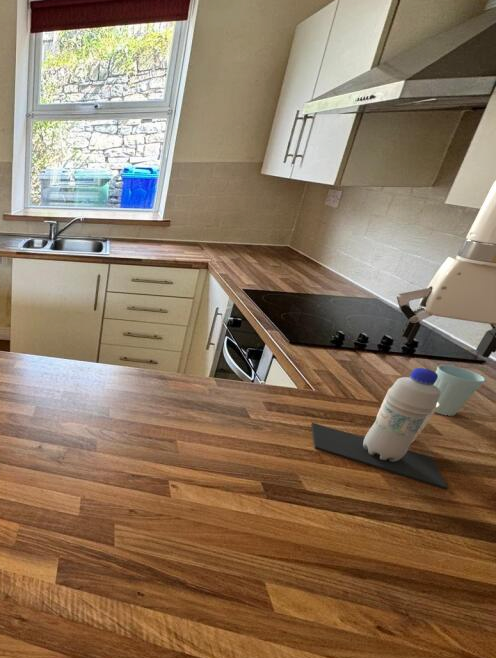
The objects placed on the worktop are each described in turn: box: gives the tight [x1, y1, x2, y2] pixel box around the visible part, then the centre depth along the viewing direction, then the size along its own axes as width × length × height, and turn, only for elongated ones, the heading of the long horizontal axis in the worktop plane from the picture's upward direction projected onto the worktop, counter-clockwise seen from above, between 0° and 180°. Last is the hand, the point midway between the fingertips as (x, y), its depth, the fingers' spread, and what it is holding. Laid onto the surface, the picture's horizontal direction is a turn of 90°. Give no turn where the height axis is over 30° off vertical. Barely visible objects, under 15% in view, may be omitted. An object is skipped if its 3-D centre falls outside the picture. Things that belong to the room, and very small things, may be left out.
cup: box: [434, 364, 486, 417], centre depth 97 cm, size 8×8×10 cm
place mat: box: [310, 422, 449, 491], centre depth 84 cm, size 20×10×1 cm, turn 57°
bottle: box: [363, 367, 441, 462], centre depth 79 cm, size 7×7×20 cm
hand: (442, 347), depth 72 cm, fingers open, 9 cm apart
